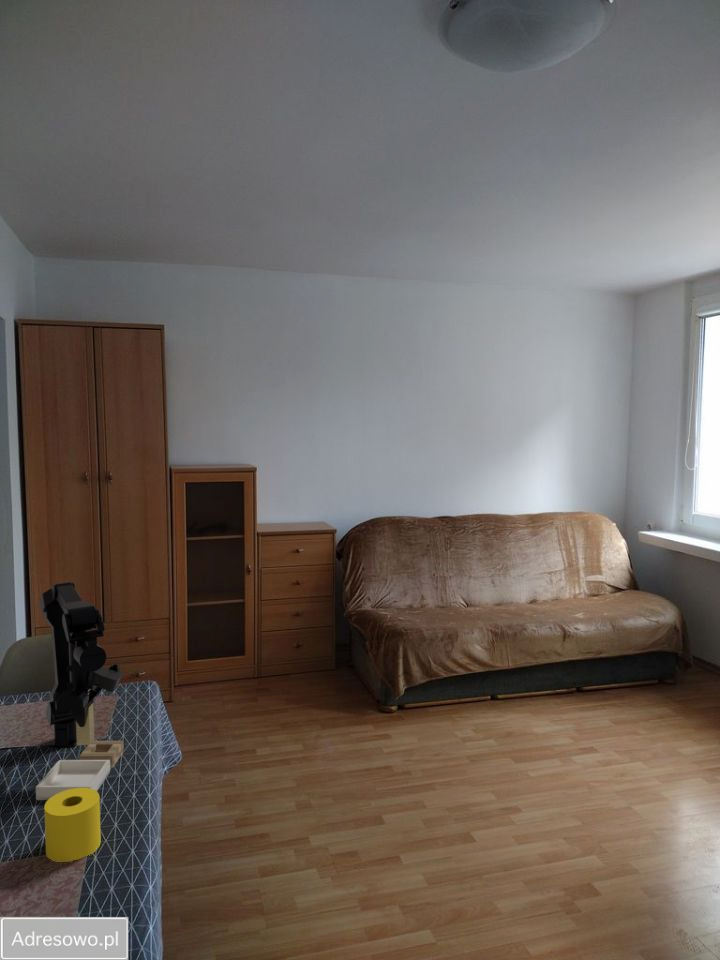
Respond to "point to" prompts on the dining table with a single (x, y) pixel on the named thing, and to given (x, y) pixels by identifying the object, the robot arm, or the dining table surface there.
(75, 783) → the tray
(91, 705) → the pin
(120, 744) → the block
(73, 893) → the dining table surface
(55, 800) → the yellow toilet paper roll
